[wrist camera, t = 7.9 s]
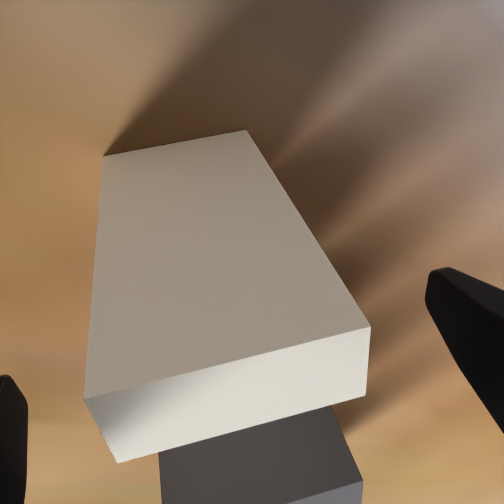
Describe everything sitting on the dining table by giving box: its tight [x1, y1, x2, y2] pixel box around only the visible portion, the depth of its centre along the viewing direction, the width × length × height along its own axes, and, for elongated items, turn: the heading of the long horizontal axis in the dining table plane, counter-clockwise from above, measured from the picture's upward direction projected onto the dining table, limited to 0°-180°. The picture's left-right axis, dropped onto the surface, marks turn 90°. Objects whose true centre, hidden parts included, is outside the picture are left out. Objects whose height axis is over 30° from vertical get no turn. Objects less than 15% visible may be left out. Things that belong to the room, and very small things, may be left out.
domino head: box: [84, 130, 371, 463], centre depth 12 cm, size 2×5×10 cm, turn 96°
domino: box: [158, 405, 363, 504], centre depth 16 cm, size 2×5×10 cm, turn 96°
